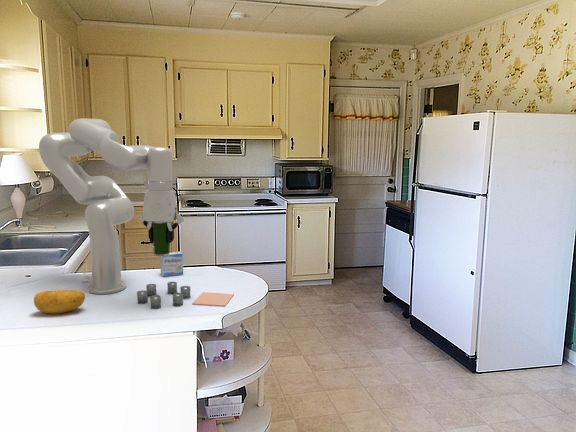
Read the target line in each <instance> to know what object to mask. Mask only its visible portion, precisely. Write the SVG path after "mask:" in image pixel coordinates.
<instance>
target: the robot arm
mask: <svg viewBox="0 0 576 432" xmlns="http://www.w3.org/2000/svg"><path fill="white" fill-rule="evenodd" d="M67 128H68V129H67V130H68V131H67V132H66V131H65V132H64V131H63V132H62V131H61V132H51V133H48V134H45V135H44V136H42V137H41V139H40V140H39V143H38V151H39V152H38V153H39V155H40V159H41V161H42V162H43V165H44V166H45V167H46V168H47V169H48V171H50V173H51V174H53V176H55V177H56V178H57V179H58V180H59V182H60V183H61V184H62V185H63V187H64V188H65V189H66V191H67V192H68V193H69V194H70V195H71V197H72V198H73V199H74V200H75V201H76V203H78V204H80V205H84V206H85V205H87V206H86V208H85V211H84V217H85V222H86V225H87V229H88V235H89V247H90V261H91V262H90V263H91V264H90V265H91V275H92V276H91V275H84V276H83V277H82V283H86V284H89V285H88V286H87V290H88V292H89V293H90V294H91V293H92V294H94V295H95V294H96V295H108V294H110V295H111V294H115V293H119V292H122V291H123V290H125V289H126V288H127V283H126V282H125V281H123V280H122V267H121V265H122V263H121V248H120V246H121V245H120V238H119V234H118V233H117V231H116V229H115V226H118V225H121V224H122V225H123V224H126V223H127V222H130V221H132V219H133V218H134V216H135V207H134V205H133V202H132V201H131V199H130V198H129V197H128V196H127V194H126V193H125V192H124V191H123V190H122V188H121V187H120V186H119V184H117V183H116V181H114V180H113V178H111V177H109V176H106V175H95V176H94V175H92V176H91V175H90V174H88V173H87V172H86V171H85V170H84V169H83V168H82V167H81V165H79V164H78V163H77V162H76V161H74V160H72V159H71V158H69V157H80V156H81V157H82V156H85V155H88V154H90V153H91V152H92V153H93V152H94V151H95V152H98V153H99V154H100V156H101V158H102V159H103V161H105V163H108V164H110V165H112V166H113V167H116V168H118V169H120V170H124V171H133V170H145V169H146V170H147V181H144V183H143V186H144V187H147V190H145V192H144V196H143V197H144V198H143V207H142V208H143V209H142V212H141V214H140V215H139V216H138V218H137V219H138V220H139V221H140V222H141V223H142V224H143V226H144V227H145V228H146V230H148V233H147V234H148V235H147V236H148V239H149V242H150V243H153V228H152V222H162V223H167V226H168V229H169V231H167V243H170V244H171V243H172V242H174V239H175V229H176V228H177V227H179V225H181V224H182V223H183V222H185V219H184V218H183V217H182V216H181V214H180V213H179V212H178V205H177V204H178V203H177V196H176V193H175V190H173V152H172V149H171V148H169V147H164V146H163V147H162V146H152V145H146V144H145V145H144V144H143V145H124V144H122V143H120V142H119V136H118V133H116V132H115V131H114V130H113V129H112V127H111V125H110V124H109V123H108V122H107V121H106V120H103V119H101V118H85V117H84V118H76V119H74V120H73V121H71V123H69V126H68V127H67ZM174 221H175V222H174Z"/></svg>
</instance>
